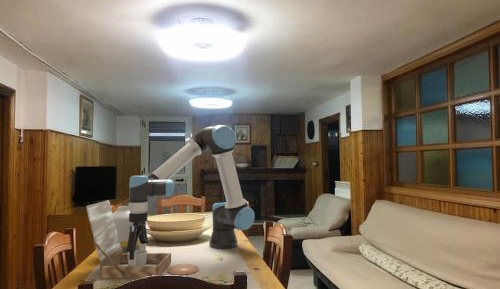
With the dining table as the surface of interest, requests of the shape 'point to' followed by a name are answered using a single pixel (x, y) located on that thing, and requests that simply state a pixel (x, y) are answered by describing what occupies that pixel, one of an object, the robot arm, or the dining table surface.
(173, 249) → the dining table surface
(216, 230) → the robot arm
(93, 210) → the cold frame
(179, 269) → the saucer
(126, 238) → the vase
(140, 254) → the cup
